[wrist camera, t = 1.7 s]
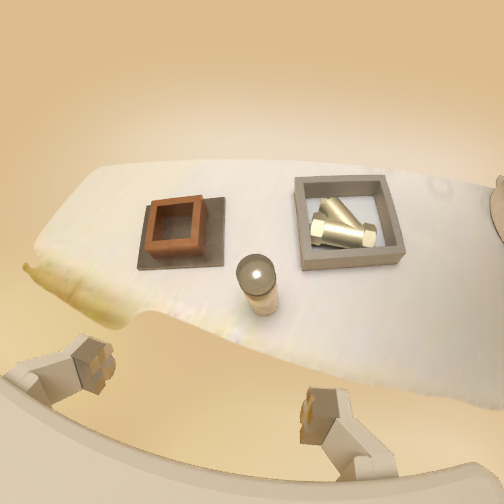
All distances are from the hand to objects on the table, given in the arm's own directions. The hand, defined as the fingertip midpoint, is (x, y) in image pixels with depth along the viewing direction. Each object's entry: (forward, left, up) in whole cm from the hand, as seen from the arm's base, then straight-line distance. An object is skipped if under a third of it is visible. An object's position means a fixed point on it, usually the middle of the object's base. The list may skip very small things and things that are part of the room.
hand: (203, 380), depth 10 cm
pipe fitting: (-12, -18, -23) cm, 31 cm away
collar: (+10, -19, -22) cm, 31 cm away
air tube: (-1, -9, -22) cm, 24 cm away
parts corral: (-12, -18, -22) cm, 31 cm away
